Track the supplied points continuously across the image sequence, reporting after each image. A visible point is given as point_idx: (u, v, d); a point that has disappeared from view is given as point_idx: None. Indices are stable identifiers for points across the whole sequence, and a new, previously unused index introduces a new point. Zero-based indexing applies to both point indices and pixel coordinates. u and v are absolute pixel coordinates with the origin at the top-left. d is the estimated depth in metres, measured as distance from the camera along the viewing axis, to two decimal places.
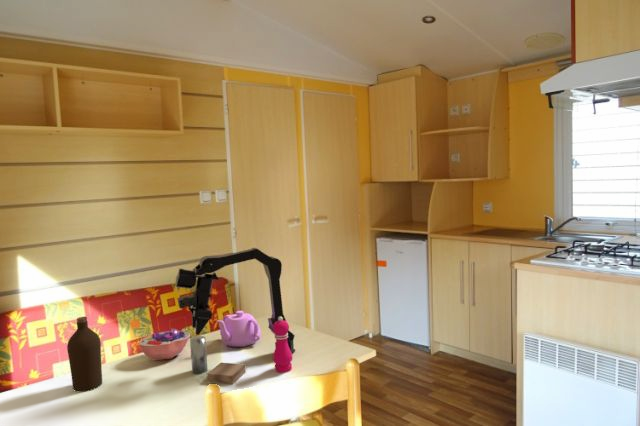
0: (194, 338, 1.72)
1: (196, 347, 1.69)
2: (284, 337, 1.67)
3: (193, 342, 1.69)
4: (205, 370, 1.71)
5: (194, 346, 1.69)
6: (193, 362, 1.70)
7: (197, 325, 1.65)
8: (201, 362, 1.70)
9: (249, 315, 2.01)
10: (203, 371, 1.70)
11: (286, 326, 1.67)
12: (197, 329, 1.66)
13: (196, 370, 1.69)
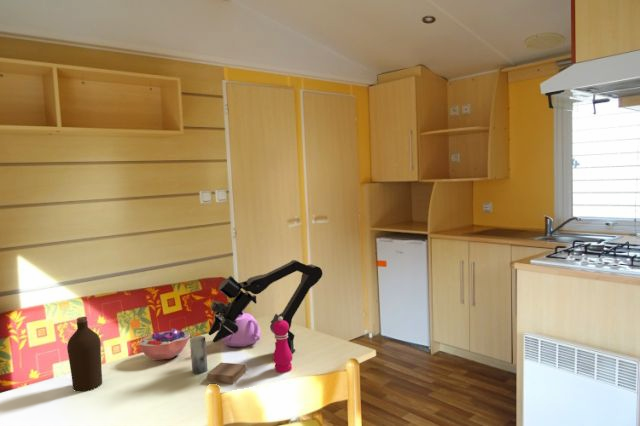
0: (194, 338, 1.72)
1: (196, 347, 1.69)
2: (284, 337, 1.67)
3: (193, 342, 1.69)
4: (205, 370, 1.71)
5: (194, 346, 1.69)
6: (193, 362, 1.70)
7: (218, 333, 1.69)
8: (201, 362, 1.70)
9: (249, 315, 2.01)
10: (203, 371, 1.70)
11: (286, 326, 1.67)
12: (216, 337, 1.69)
13: (196, 370, 1.69)
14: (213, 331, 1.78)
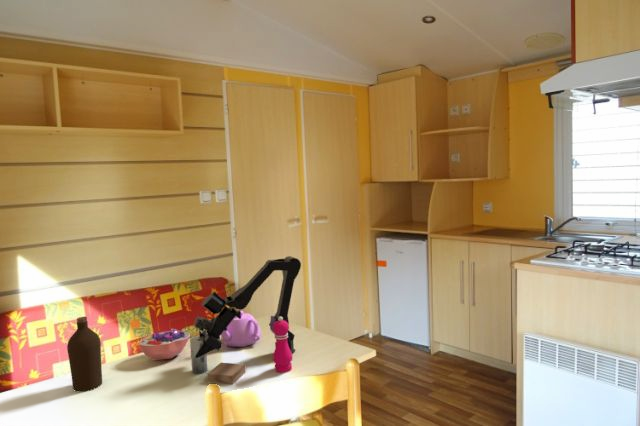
0: (194, 338, 1.72)
1: (196, 347, 1.69)
2: (284, 337, 1.67)
3: (193, 342, 1.69)
4: (205, 370, 1.71)
5: (194, 346, 1.69)
6: (193, 362, 1.70)
7: (201, 349, 1.68)
8: (201, 362, 1.70)
9: (249, 315, 2.01)
10: (203, 371, 1.70)
11: (286, 326, 1.67)
12: (198, 353, 1.68)
13: (196, 370, 1.69)
14: None
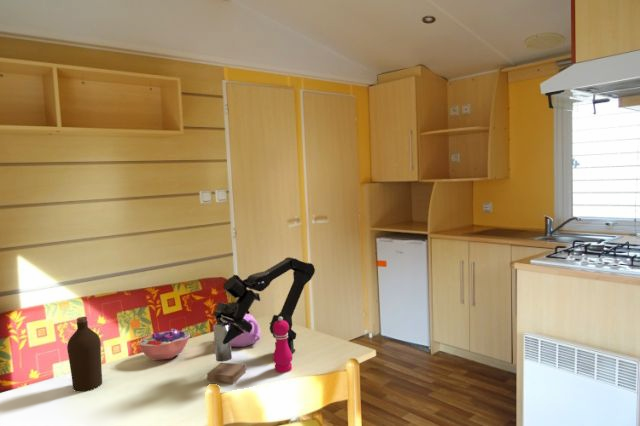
0: (217, 325, 1.64)
1: (223, 333, 1.62)
2: (284, 337, 1.67)
3: (219, 328, 1.62)
4: (231, 356, 1.65)
5: (221, 332, 1.62)
6: (219, 349, 1.62)
7: (229, 334, 1.62)
8: (228, 348, 1.63)
9: (249, 315, 2.01)
10: (229, 357, 1.64)
11: (286, 326, 1.67)
12: (227, 338, 1.62)
13: (223, 358, 1.63)
14: None
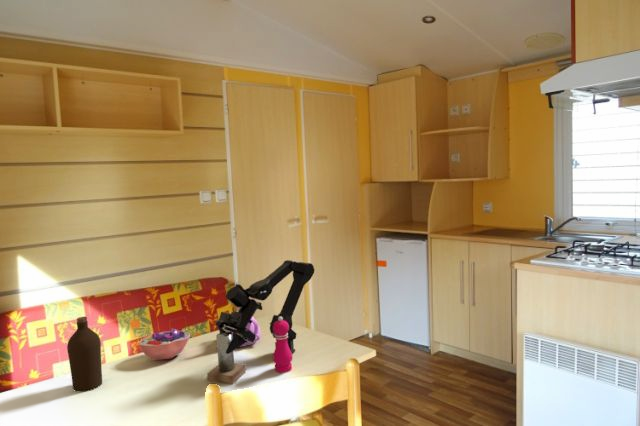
0: (220, 334, 1.64)
1: (226, 343, 1.62)
2: (284, 337, 1.67)
3: (223, 338, 1.62)
4: (233, 366, 1.65)
5: (224, 342, 1.62)
6: (222, 359, 1.62)
7: (232, 344, 1.62)
8: (231, 358, 1.63)
9: None
10: (232, 367, 1.64)
11: (286, 326, 1.67)
12: (230, 348, 1.62)
13: (226, 367, 1.63)
14: None
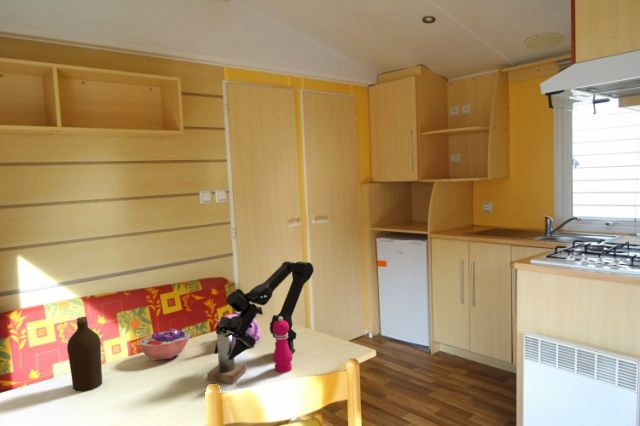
0: (221, 335, 1.64)
1: (227, 344, 1.62)
2: (284, 337, 1.67)
3: (223, 339, 1.62)
4: (234, 367, 1.65)
5: (224, 343, 1.62)
6: (223, 360, 1.62)
7: (235, 349, 1.61)
8: None
9: None
10: (232, 368, 1.64)
11: (286, 326, 1.67)
12: (232, 354, 1.61)
13: (226, 368, 1.63)
14: None
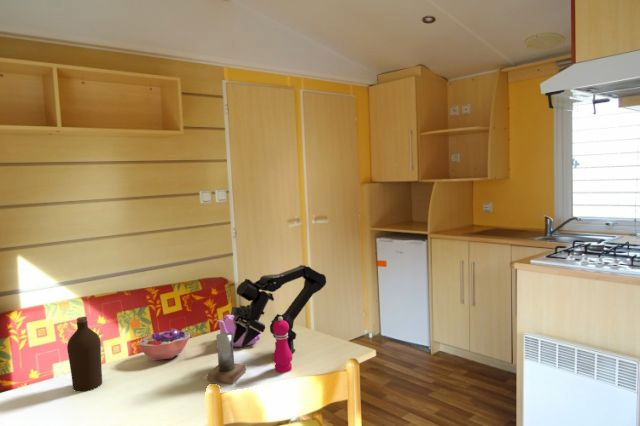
0: (220, 335, 1.64)
1: (226, 343, 1.62)
2: (284, 337, 1.67)
3: (223, 338, 1.62)
4: (234, 367, 1.65)
5: (224, 342, 1.62)
6: (222, 360, 1.62)
7: (246, 336, 1.67)
8: (231, 358, 1.64)
9: None
10: (232, 368, 1.64)
11: (286, 326, 1.67)
12: (244, 341, 1.67)
13: (226, 368, 1.63)
14: (237, 338, 1.75)
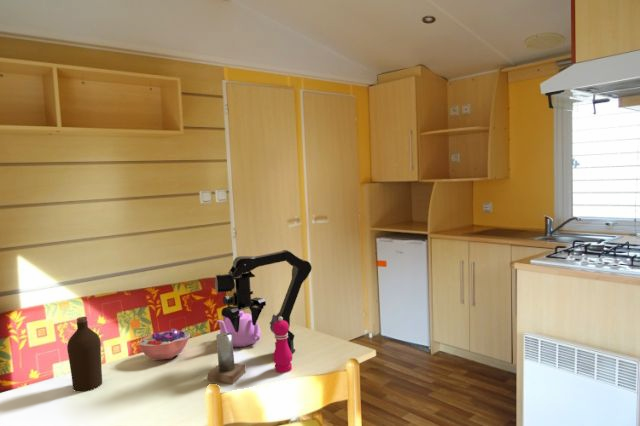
0: (220, 335, 1.64)
1: (226, 343, 1.62)
2: (284, 337, 1.67)
3: (223, 338, 1.62)
4: (234, 367, 1.65)
5: (224, 342, 1.62)
6: (222, 360, 1.62)
7: (232, 323, 1.74)
8: (231, 358, 1.64)
9: (249, 315, 2.01)
10: (232, 368, 1.64)
11: (286, 326, 1.67)
12: (234, 327, 1.75)
13: (226, 368, 1.63)
14: (254, 320, 1.82)
